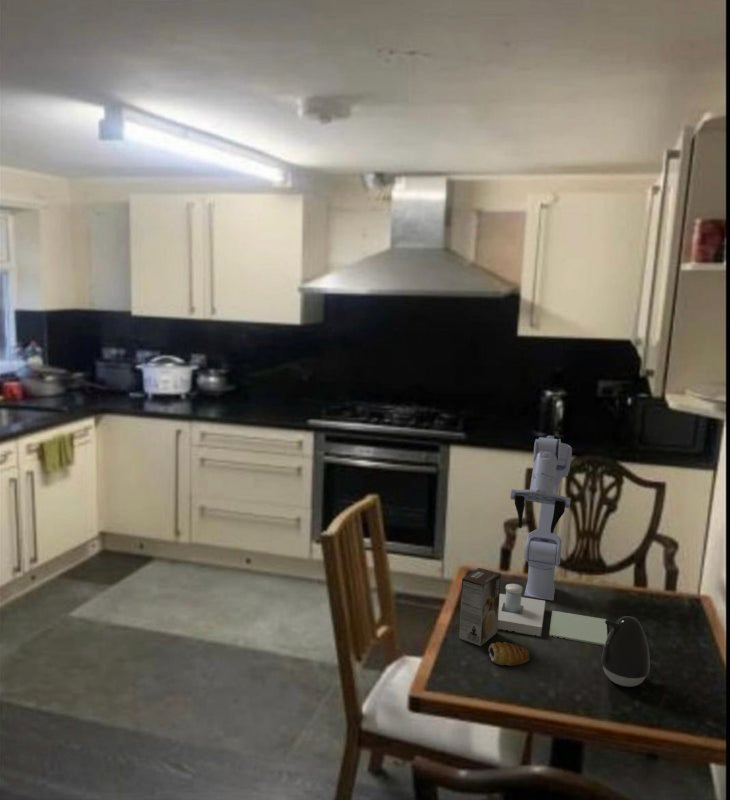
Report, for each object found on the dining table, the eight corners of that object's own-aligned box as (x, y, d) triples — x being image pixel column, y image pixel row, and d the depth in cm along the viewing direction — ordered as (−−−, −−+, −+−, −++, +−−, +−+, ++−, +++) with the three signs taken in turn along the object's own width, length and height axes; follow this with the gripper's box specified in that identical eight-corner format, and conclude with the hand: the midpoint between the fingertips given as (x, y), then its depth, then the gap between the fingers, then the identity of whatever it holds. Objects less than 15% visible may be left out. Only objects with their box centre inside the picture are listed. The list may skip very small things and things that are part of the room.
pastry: (524, 652, 171) (525, 637, 171) (533, 667, 165) (534, 652, 164) (486, 652, 170) (487, 637, 170) (493, 667, 164) (494, 652, 163)
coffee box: (475, 625, 184) (479, 566, 181) (497, 633, 180) (502, 573, 177) (458, 638, 176) (461, 577, 174) (481, 647, 172) (485, 585, 170)
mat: (552, 612, 192) (552, 610, 192) (606, 621, 188) (606, 619, 188) (549, 636, 179) (549, 634, 179) (607, 646, 175) (607, 644, 175)
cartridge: (504, 612, 191) (506, 582, 190) (521, 615, 190) (523, 585, 189) (502, 619, 187) (504, 589, 186) (519, 622, 186) (521, 591, 184)
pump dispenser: (593, 667, 165) (599, 606, 163) (638, 669, 165) (644, 608, 162) (606, 692, 155) (612, 627, 153) (654, 694, 155) (661, 629, 152)
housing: (486, 599, 198) (486, 591, 198) (544, 609, 194) (545, 600, 193) (477, 625, 183) (478, 616, 183) (540, 636, 179) (541, 627, 178)
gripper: (513, 468, 179) (505, 517, 172) (573, 476, 175) (567, 526, 168) (514, 481, 185) (506, 528, 178) (571, 489, 181) (565, 538, 174)
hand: (535, 528), depth 173 cm, fingers open, 7 cm apart
